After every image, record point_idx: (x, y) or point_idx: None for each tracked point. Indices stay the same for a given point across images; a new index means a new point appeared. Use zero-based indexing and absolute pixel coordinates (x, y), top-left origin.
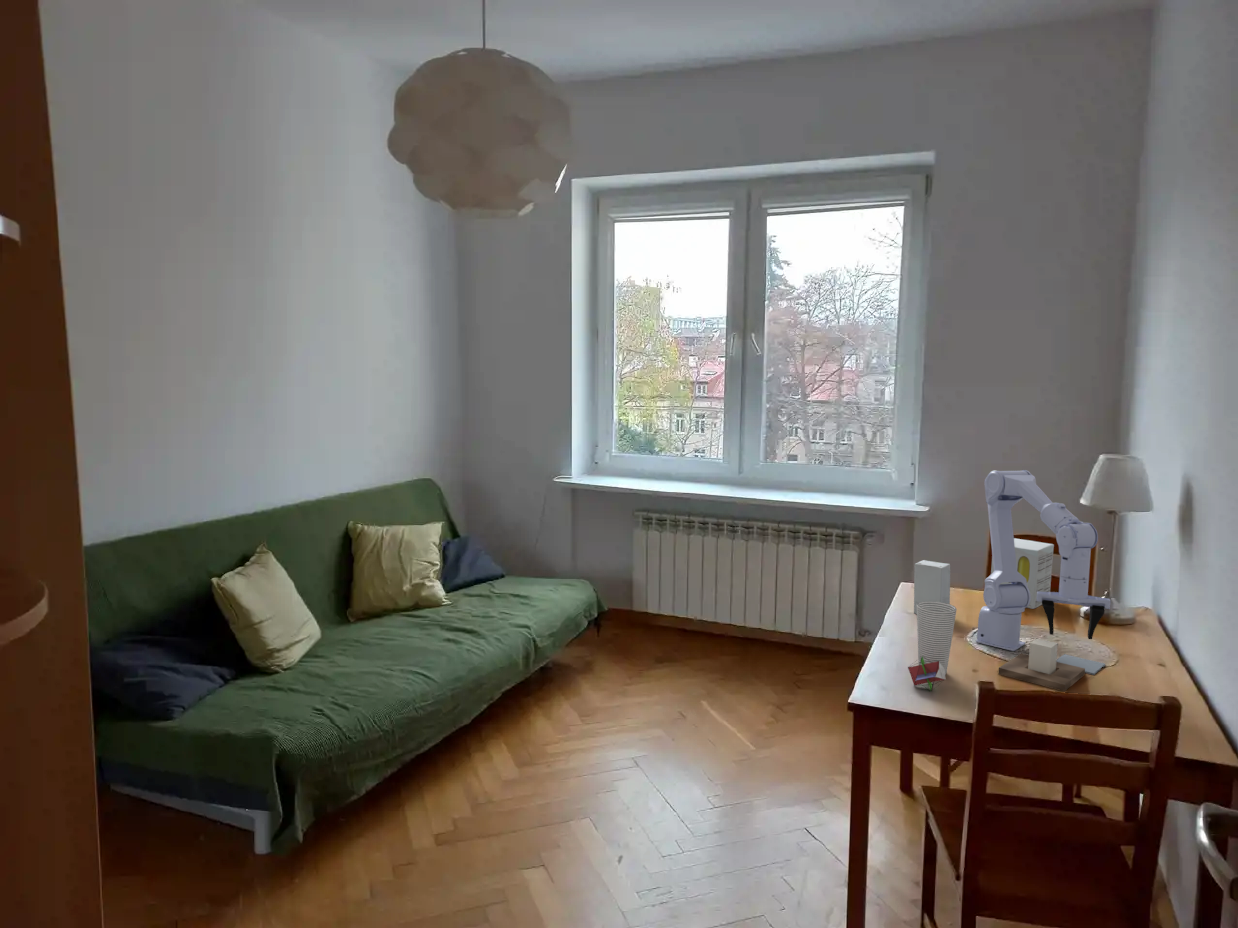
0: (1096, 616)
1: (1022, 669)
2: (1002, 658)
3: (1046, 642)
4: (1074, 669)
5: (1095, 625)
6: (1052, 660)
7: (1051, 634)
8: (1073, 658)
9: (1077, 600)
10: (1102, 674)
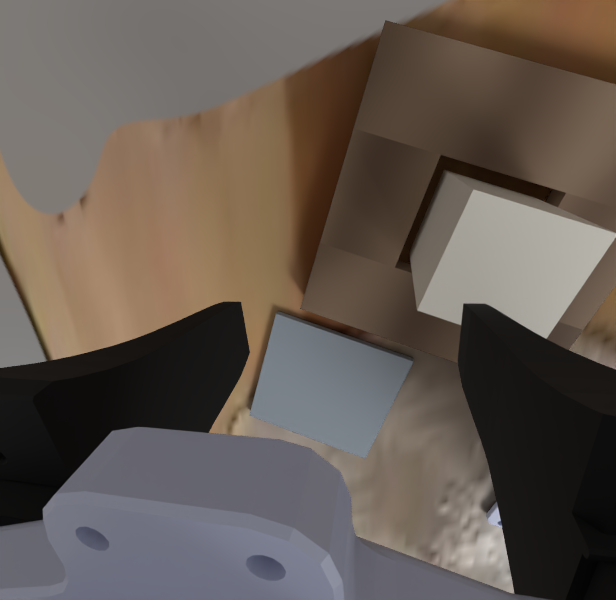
0: (70, 365)
1: (582, 161)
2: (613, 357)
3: (488, 292)
4: (337, 281)
5: (147, 335)
6: (439, 217)
7: (476, 303)
8: (338, 429)
9: (80, 496)
10: (253, 329)
